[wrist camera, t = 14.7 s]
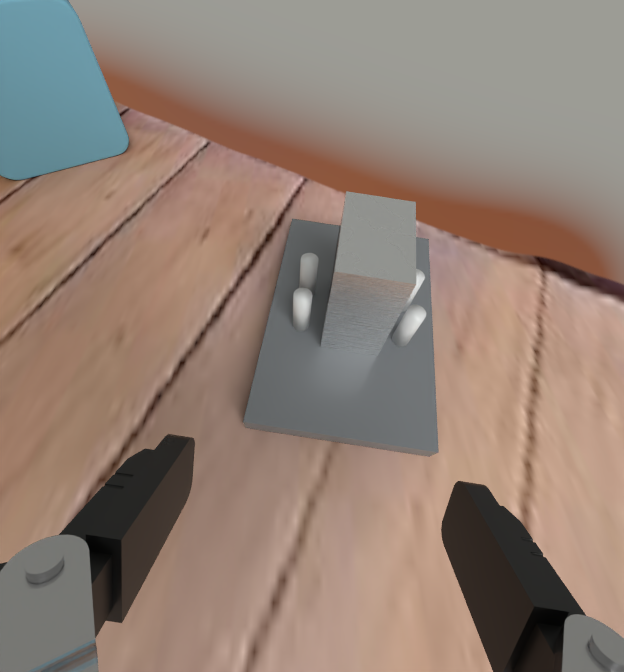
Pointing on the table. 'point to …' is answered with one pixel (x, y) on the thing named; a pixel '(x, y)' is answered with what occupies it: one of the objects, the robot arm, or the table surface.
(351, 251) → the block
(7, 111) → the data package
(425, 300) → the drive dock
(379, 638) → the table surface
